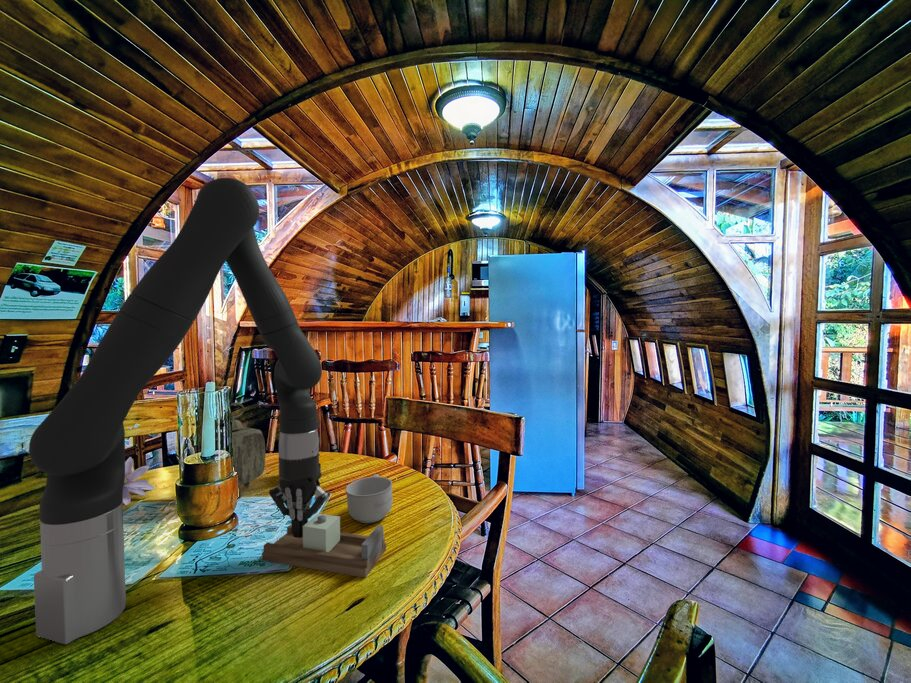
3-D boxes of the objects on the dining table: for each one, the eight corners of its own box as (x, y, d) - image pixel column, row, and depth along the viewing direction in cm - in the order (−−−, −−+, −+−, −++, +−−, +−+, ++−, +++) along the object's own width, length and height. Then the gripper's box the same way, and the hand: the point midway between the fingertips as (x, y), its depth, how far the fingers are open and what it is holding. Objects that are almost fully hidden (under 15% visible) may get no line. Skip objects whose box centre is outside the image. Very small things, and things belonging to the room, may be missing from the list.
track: (365, 577, 71) (365, 548, 71) (262, 560, 76) (261, 532, 76) (385, 550, 80) (385, 523, 80) (291, 536, 85) (291, 511, 85)
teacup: (382, 531, 87) (381, 496, 87) (337, 526, 89) (337, 491, 89) (402, 503, 101) (402, 472, 100) (363, 499, 103) (363, 469, 103)
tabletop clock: (248, 483, 113) (247, 397, 112) (269, 489, 109) (268, 400, 108) (195, 503, 100) (193, 406, 99) (216, 511, 96) (214, 410, 95)
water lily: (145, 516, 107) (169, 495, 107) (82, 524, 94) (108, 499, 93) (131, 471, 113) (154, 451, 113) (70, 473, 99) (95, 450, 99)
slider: (326, 554, 75) (325, 525, 75) (303, 551, 76) (302, 522, 76) (340, 540, 80) (339, 512, 80) (318, 537, 81) (318, 509, 81)
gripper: (257, 455, 76) (258, 541, 77) (317, 460, 74) (318, 550, 74) (282, 443, 84) (283, 522, 85) (338, 448, 81) (339, 530, 82)
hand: (300, 535), depth 79 cm, fingers closed
